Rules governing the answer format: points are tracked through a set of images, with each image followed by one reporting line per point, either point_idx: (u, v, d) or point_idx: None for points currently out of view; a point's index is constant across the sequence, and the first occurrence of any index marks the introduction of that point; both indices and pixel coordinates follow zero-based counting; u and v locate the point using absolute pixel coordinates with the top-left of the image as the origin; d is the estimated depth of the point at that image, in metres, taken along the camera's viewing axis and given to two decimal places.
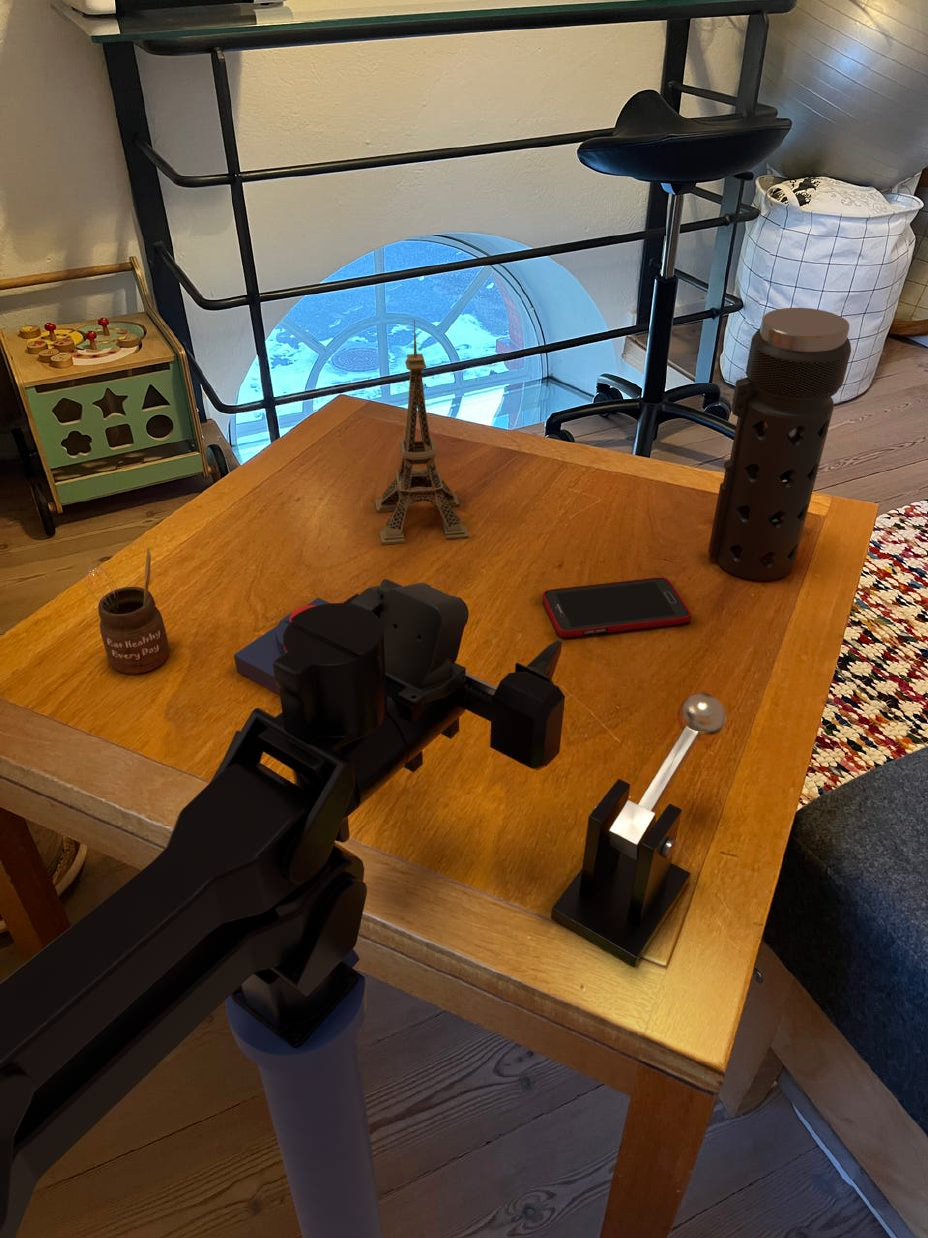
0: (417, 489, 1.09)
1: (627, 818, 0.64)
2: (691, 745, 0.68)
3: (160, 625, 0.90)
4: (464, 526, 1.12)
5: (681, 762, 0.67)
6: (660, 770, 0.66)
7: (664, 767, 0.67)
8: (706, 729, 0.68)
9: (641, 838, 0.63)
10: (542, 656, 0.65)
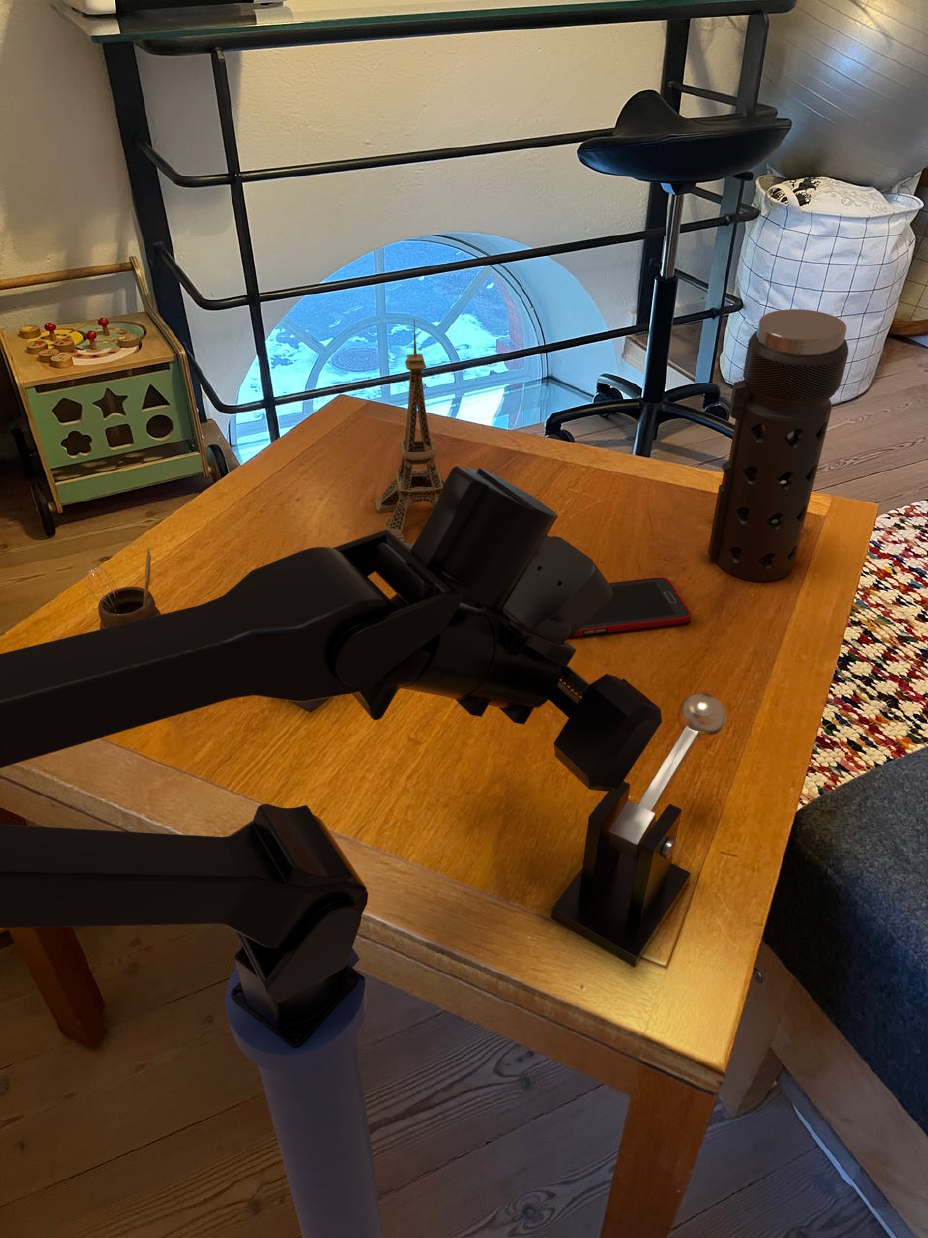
0: (417, 489, 1.09)
1: (627, 818, 0.64)
2: (691, 745, 0.68)
3: None
4: None
5: (681, 762, 0.67)
6: (660, 770, 0.66)
7: (664, 767, 0.67)
8: (706, 729, 0.68)
9: (641, 838, 0.63)
10: None
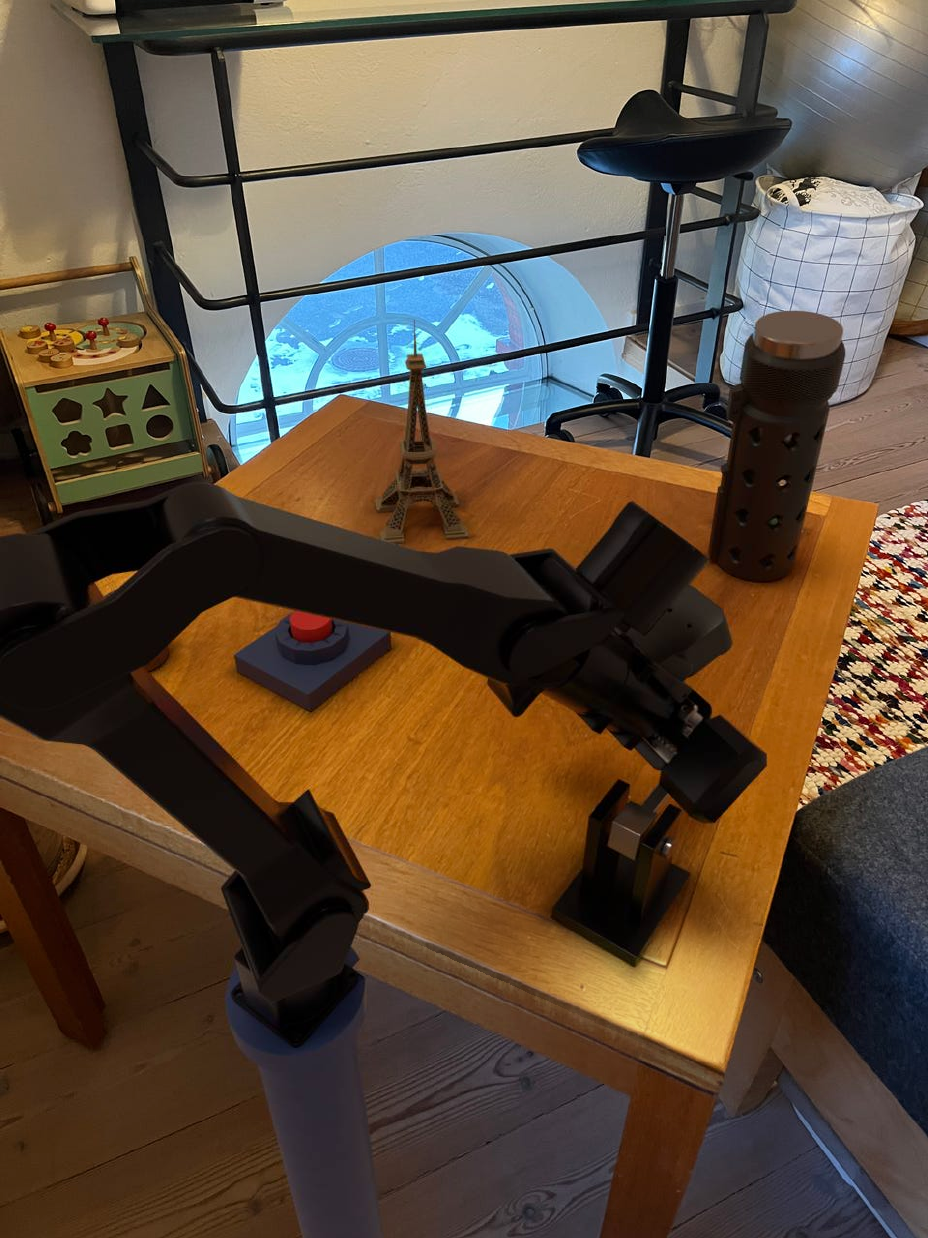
0: (417, 489, 1.09)
1: (630, 814, 0.64)
2: None
3: None
4: (464, 526, 1.12)
5: None
6: (659, 785, 0.68)
7: None
8: None
9: (644, 832, 0.63)
10: None
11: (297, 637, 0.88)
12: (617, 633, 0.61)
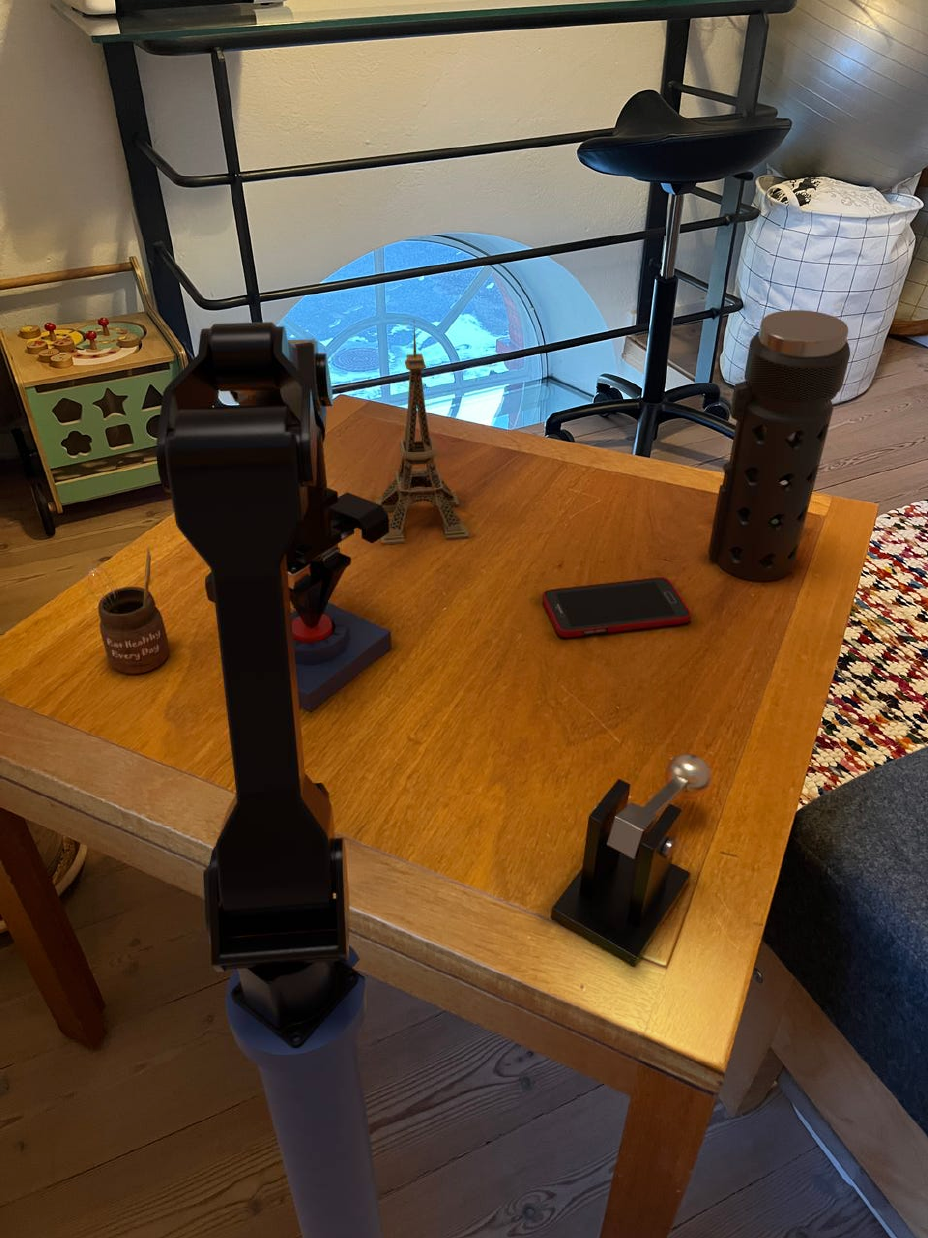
0: (417, 489, 1.09)
1: (631, 812, 0.64)
2: (682, 788, 0.70)
3: (160, 625, 0.90)
4: (464, 526, 1.12)
5: (674, 796, 0.69)
6: (656, 795, 0.68)
7: (660, 794, 0.69)
8: (696, 780, 0.71)
9: (646, 828, 0.63)
10: None
11: None
12: None
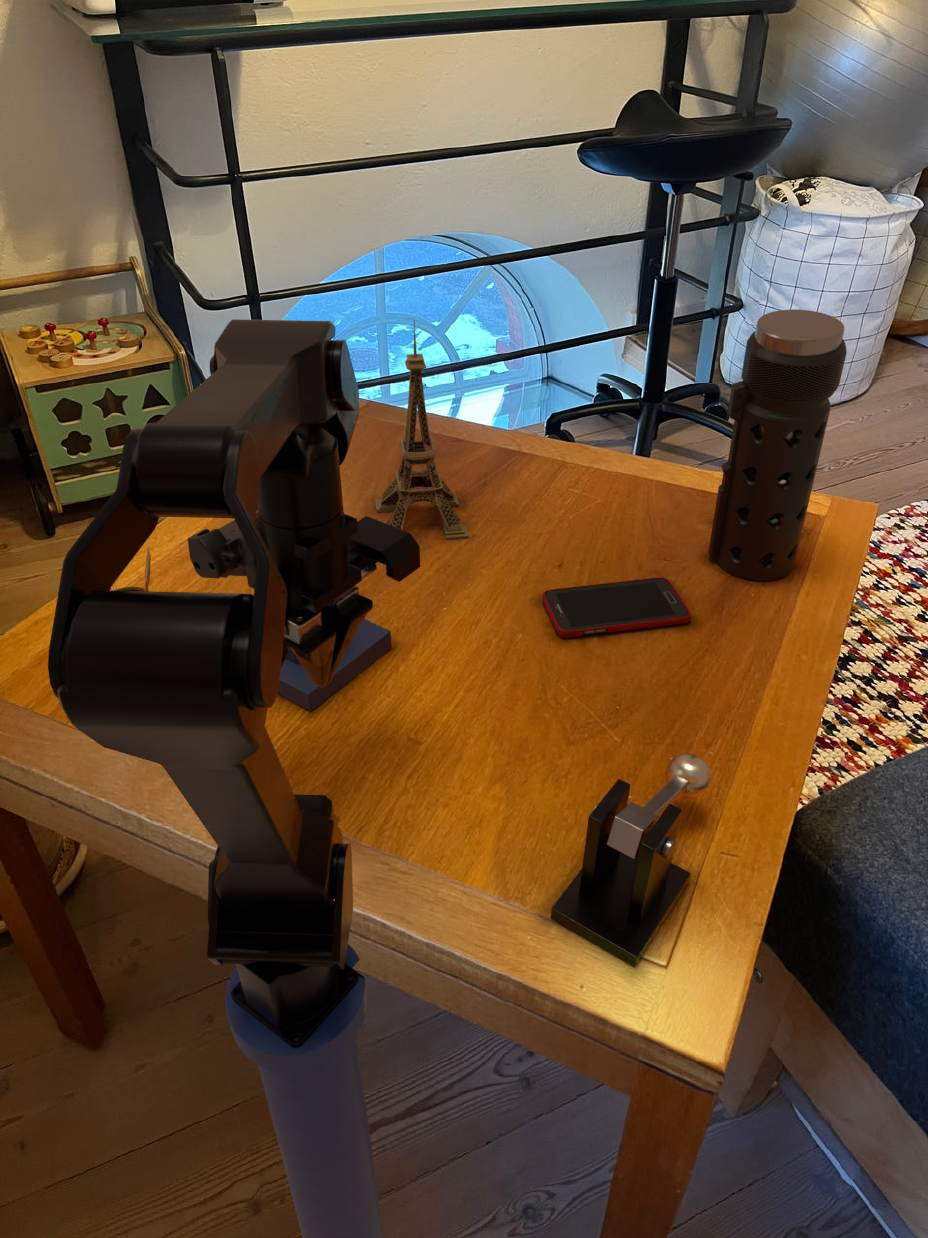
0: (417, 489, 1.09)
1: (631, 812, 0.64)
2: (682, 788, 0.70)
3: None
4: (464, 526, 1.12)
5: (674, 796, 0.69)
6: (656, 795, 0.68)
7: (660, 794, 0.69)
8: (696, 780, 0.71)
9: (646, 828, 0.63)
10: None
11: None
12: None
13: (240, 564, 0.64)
